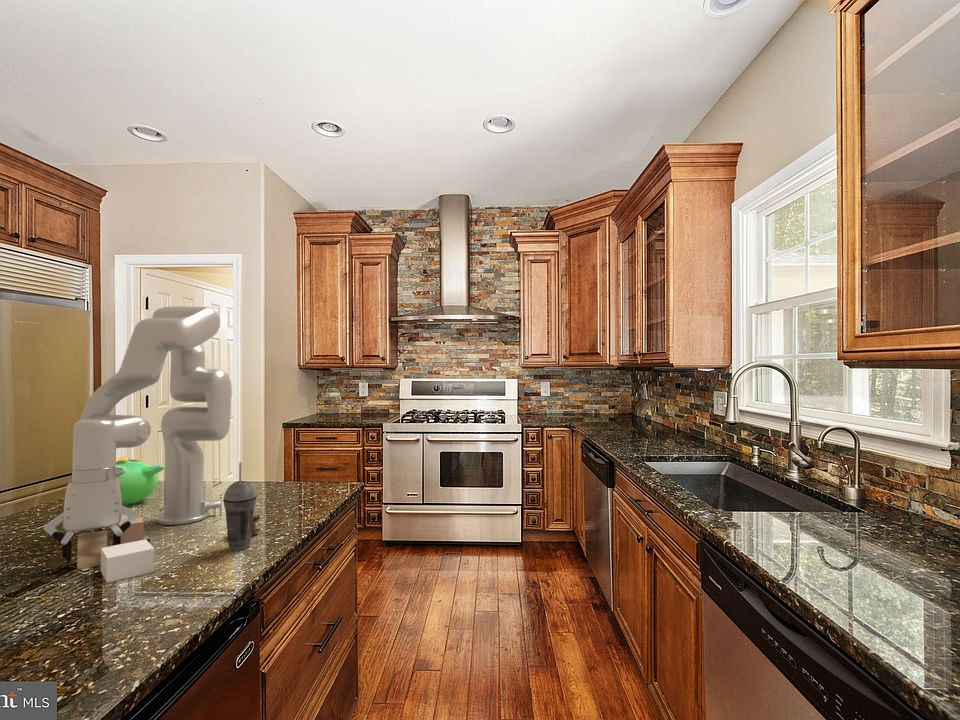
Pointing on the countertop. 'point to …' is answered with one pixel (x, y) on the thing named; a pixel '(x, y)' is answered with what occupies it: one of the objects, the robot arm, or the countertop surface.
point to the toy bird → (136, 479)
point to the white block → (127, 560)
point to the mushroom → (255, 519)
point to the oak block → (90, 549)
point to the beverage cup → (239, 512)
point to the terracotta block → (133, 531)
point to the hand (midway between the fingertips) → (92, 556)
